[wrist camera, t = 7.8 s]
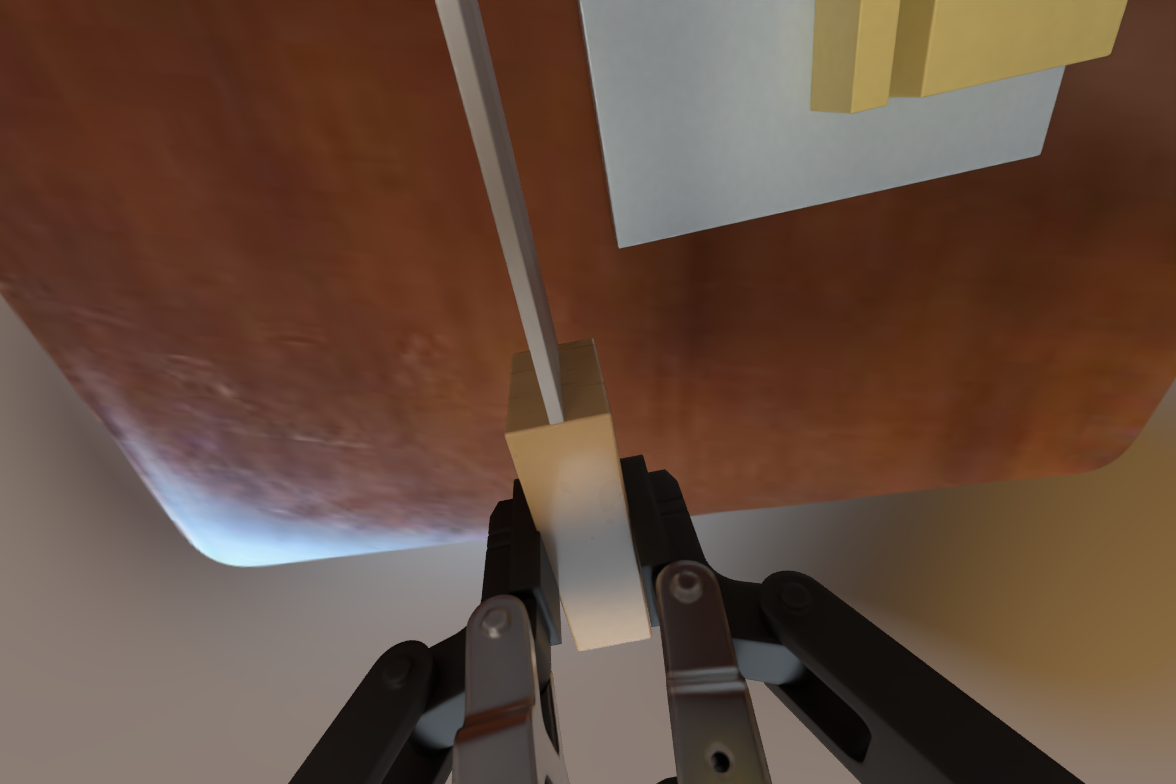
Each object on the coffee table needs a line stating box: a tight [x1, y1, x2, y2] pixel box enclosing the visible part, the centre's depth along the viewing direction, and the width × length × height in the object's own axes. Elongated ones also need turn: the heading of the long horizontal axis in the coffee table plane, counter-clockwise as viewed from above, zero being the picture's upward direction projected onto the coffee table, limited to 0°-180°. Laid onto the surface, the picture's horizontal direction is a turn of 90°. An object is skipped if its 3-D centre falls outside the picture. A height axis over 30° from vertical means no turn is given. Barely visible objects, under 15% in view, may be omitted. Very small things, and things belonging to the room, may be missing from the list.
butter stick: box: [889, 0, 1128, 98], centre depth 18 cm, size 4×7×3 cm, turn 101°
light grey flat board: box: [577, 0, 1066, 248], centre depth 20 cm, size 12×20×1 cm, turn 101°
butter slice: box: [810, 0, 901, 114], centre depth 18 cm, size 4×1×3 cm, turn 11°
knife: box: [435, 0, 652, 651], centre depth 11 cm, size 17×2×4 cm, turn 10°
